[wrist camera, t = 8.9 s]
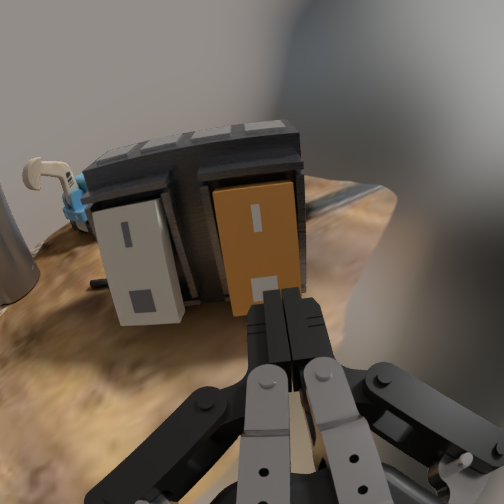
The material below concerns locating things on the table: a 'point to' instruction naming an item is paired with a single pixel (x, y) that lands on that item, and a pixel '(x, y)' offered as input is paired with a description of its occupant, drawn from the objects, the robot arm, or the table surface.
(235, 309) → the orange cardboard box
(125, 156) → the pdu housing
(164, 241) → the ivory rocker
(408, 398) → the robot arm
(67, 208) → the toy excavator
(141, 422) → the table surface
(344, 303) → the table surface
